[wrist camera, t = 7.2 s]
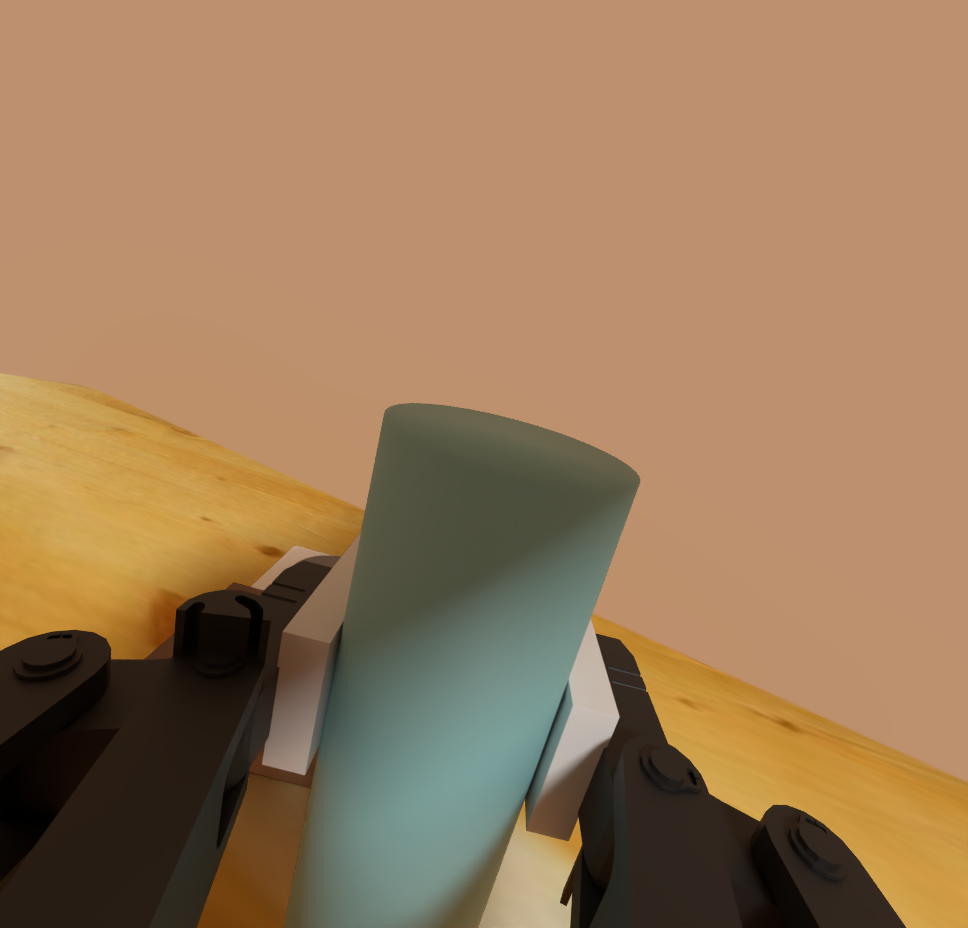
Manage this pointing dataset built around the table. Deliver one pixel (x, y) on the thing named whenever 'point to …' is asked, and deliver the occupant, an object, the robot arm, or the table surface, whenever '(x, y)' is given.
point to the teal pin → (451, 662)
